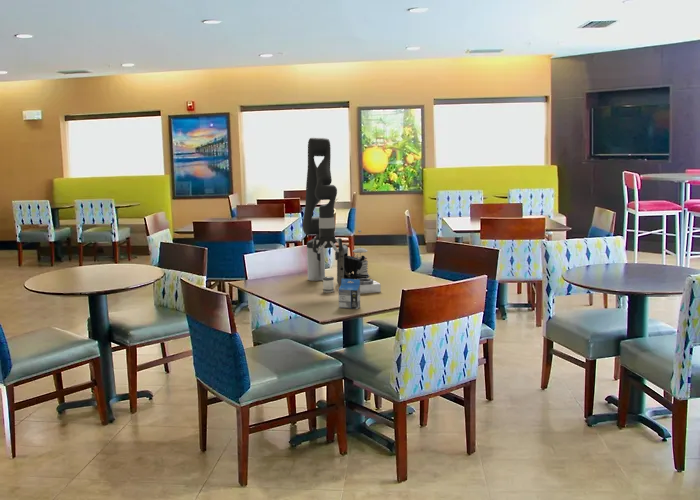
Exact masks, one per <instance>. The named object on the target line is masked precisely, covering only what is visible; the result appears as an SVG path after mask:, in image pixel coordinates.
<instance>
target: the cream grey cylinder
mask: <svg viewBox="0 0 700 500" xmlns="http://www.w3.org/2000/svg"><path fill="white" fill-rule="evenodd" d="M334 281H335V280H334V276H325V277H323V280H322V288H323V289H322V290H323V291H322V292H323V293H326V294H330V293H331V292H332V293H334V292H335V291H334V290H335V289H334V288H335V286H334V283H335V282H334Z"/></svg>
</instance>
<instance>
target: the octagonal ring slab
mask: <svg viewBox="0 0 700 500" xmlns="http://www.w3.org/2000/svg"><path fill="white" fill-rule="evenodd" d="M348 283H354V282H351V281H350V282H348ZM381 287H382V285H381V283H380V282H378V281H376V280H374V279H372V278H367V279H366V278H365V279H364V278H363V279H360V295H362V294H372V293H373V294H374V293H381Z"/></svg>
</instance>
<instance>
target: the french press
mask: <svg viewBox="0 0 700 500" xmlns="http://www.w3.org/2000/svg"><path fill="white" fill-rule="evenodd" d="M357 233H362V230H361V229H359V230H357ZM367 252H368V249H366V248H364V247H358V248H355V249H353V250H352V253H355V254H353V255H352V256H353V257H356V258H358V259H360V258H361V256H362V255H358V254H356V253H359V254H361V253H367ZM362 262H363V263H362V267H361V269H360V270H358V271H357V274H359V273H361V274H362V275H368V276H369V277H371V275H369V271H368V267H369V266H368V258H367V257H366V256H365V259H364V260H362Z"/></svg>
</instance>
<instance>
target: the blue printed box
mask: <svg viewBox="0 0 700 500" xmlns="http://www.w3.org/2000/svg"><path fill="white" fill-rule="evenodd" d="M348 282H354V283H348ZM338 308H340V309H352V310H353V309H354V310H359V309H360V308H361V294H360V279H341V285H339V288H338Z"/></svg>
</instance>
